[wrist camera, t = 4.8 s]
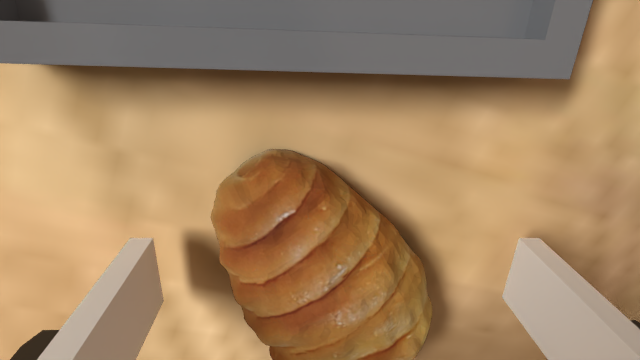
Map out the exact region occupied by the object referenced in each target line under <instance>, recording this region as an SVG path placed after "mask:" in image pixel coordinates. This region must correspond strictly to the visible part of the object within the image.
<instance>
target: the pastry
mask: <svg viewBox="0 0 640 360" xmlns="http://www.w3.org/2000/svg"><path fill="white" fill-rule="evenodd" d="M211 220H212V223H213V226H214V228H215V231H216V235H217V238H218V240H219V245H220V255H219V257H220V264H221V265H222V266H223V267H225V269H226V270H227V272H228V273H229V276H230V283H231V288H232V291H233V294H234V297H235V300H236V301H237V303H238V304H240V305H241V306H242V310H243V312H244V319H245V321H246V322H247V324H248V325H249V326H250V327H251V328H252V329H253V330H254V332H255V333H256V335H257V337H258V338H259V339H260V341H261V342H262V343H264V344H265V345H268V346H270V349H269V351H270V356H271V358H272V359H273V360H413V359H414V358H415V357H416V356H417V354H418V352H419V351H420V349H421V347H422V345H423V344H424V342H425V340H426V337H427V334H428V331H429V328H430V323H431V319H432V304H431V301H430V299H429V297H428V294H427V291H426V286H427V283H426V276H425V272H424V266H423V264H422V262H421V260H420V258H419V257H418V256H417V255H416V254H415V253H414V252H413V251H412V250H411V249H410V248H409V246H408V245H407V243H406V242H405V241H404V240H403V238H402V237H401V236H400V234H399V232H398V230H397V229H396V228H395V227H394V225H393V224H392V223H391V222H390V221H389V220H388V219H386V218H385V217H384V216H383V215H382V214H381V213H379V212H378V211H377V210H376V209H375V208H374V207H372V206H371V205H370V204H369V203H368V202H367V201H366V200H364V199H363V198H362V197H361V196H360V195H359V194H358V193H357V192H356V191H354V190H353V189H352V188H350V187H349V186H348V185H347V184H346V183H345V182H344V181H343V180H342V179H341V178H340V177H338V176H337V175H336V174H335V173H334V172H332V171H331V170H330V169H329V168H327V167H326V166H324V165H323V164H321V163H319V162H317V161H315V160H312V159H310V158H307V157H305V156H303V155H301V154H298V153H296V152H294V151H289V150H280V149H271V150H266V151H264V152H262V153H260V154H258V155H256V156H254V157H251V158H250V159H248V160H247V161H245V162H244V163H243V164H242V165H241V166H240V167H239V168H238V169H237V170H236V171H235V172H234V173H233V174H231V175H230V176H228V177H227V178H226V179H225V180H224V181H223V182H222V183H221V184H220V186H219V188H218V190H217V193H216V198H215V201H214V207H213V210H212V213H211Z"/></svg>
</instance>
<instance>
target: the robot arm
mask: <svg viewBox="0 0 640 360" xmlns="http://www.w3.org/2000/svg"><path fill="white" fill-rule="evenodd" d="M502 298H503V299H504V301H505V302H506V303H507V305H508V306H509V307H510V309H511V310H512V312H513V313H514V314H515V316H516V317H517V318H518V320H519V321H520V322H521V324H522V325H523V327H524V328H525V329H526V331H527V332H528V333H529V335H530V336H531V337H532V339H533V340H534V342H535V343H536V344H537V346H538V347H539V348H540V350H541V351H542V352H543V354H544V355H545V357H546V358H547V359H548V360H640V323H639V322H637V321H636V320H629V319H628V318H627V317H626V316H625V315H624V314H622V313H621V312H620V311H619V310H618V309H617V308H616V307H615V306H614V305H613V304H611V303H610V302H609V301H608V300H607V299H606V298H605V297H604V296H603V295H601V294H600V293H599V292H598V291H597V290H596V289H595V288H594V287H593V286H592V285H590V284H589V283H588V282H587V281H586V280H585V279H584V278H583V277H582V276H581V275H579V274H578V273H577V272H576V271H575V270H574V269H573V268H572V267H571V266H570V265H568V264H567V263H566V262H565V261H564V260H563V259H562V258H561V257H560V256H559V255H557V254H556V253H555V252H554V251H553V250H552V249H551V248H550V247H549V246H548V245H546V244H545V243H544V242H543V241H542V240H541V239H540V238H519V240H518V244H517V247H516V251H515V254H514V258H513V261H512V265H511V268H510V272H509V275H508V278H507V282H506V285H505V289H504V292H503V296H502ZM163 301H164V300H163V294H162V288H161V283H160V277H159V271H158V265H157V259H156V253H155V247H154V241H153V238H130V239H129V240H128V241H127V243H126V244H125V245H124V247H123V248H122V249H121V251H120V252H119V253H118V255H117V256H116V257H115V258H114V260H113V261H112V262H111V264H110V265H109V266H108V268H107V269H106V270H105V272H104V273H103V274H102V275H101V277H100V278H99V279H98V281H97V282H96V283H95V285H94V286H93V287H92V289H91V290H90V291H89V292H88V294H87V295H86V296H85V298H84V299H83V300H82V302H81V303H80V304H79V306H78V307H77V308H76V309H75V311H74V312H73V313H72V315H71V316H70V317H69V319H68V320H67V321H66V322H65V324H64V325H63V326H62V328H61V329H60V330H42V331H41V332H40V333H38V334H37V335H36V336H34V337H33V338H32V339H30V340H29V341H28V342H26V343H25V344H24V345H22V346H21V347H20V348H19V350H18V351H17V352H16V353H15V354H14V356H13V357H12V358H11V359H10V360H136V358H137V356H138V354H139V352H140V349H141V347H142V345H143V343H144V341H145V339H146V337H147V335H148V333H149V331H150V328H151V326H152V324H153V322H154V320H155V318H156V316H157V314H158V312H159V310H160V307H161V305H162V303H163Z"/></svg>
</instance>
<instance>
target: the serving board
mask: <svg viewBox="0 0 640 360" xmlns="http://www.w3.org/2000/svg"><path fill="white" fill-rule="evenodd" d="M592 2H593V0H0V63H12V64H47V65H83V66H118V67H154V68H189V69H225V70H260V71H296V72H331V73H366V74H402V75H437V76H473V77H508V78H544V79H570V76H571V73H572V70H573V66H574V63H575V59H576V56H577V53H578V49H579V46H580V42H581V39H582V36H583V32H584V29H585V25H586V22H587V19H588V15H589V12H590V8H591V5H592Z"/></svg>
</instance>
